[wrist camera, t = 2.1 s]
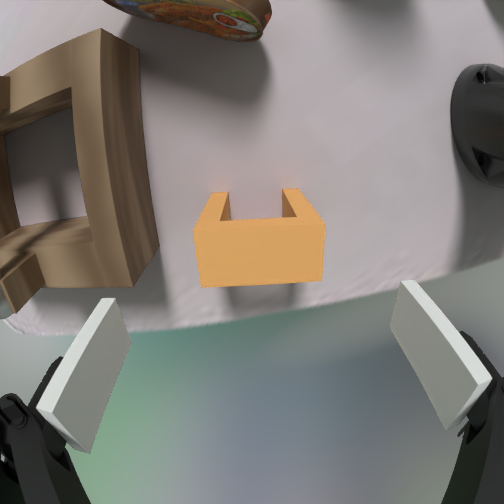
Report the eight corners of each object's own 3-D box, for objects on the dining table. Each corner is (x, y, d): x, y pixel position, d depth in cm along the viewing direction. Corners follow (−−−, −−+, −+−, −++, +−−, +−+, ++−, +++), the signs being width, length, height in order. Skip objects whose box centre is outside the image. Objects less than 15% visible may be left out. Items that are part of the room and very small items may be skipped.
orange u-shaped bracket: (298, 188, 26) (325, 223, 17) (298, 228, 28) (321, 280, 19) (212, 192, 26) (192, 230, 17) (216, 233, 28) (201, 287, 19)
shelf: (138, 50, 20) (54, 4, 7) (159, 246, 28) (104, 336, 16) (-8, 111, 20) (-90, 128, 7) (17, 256, 29) (-47, 313, 16)
